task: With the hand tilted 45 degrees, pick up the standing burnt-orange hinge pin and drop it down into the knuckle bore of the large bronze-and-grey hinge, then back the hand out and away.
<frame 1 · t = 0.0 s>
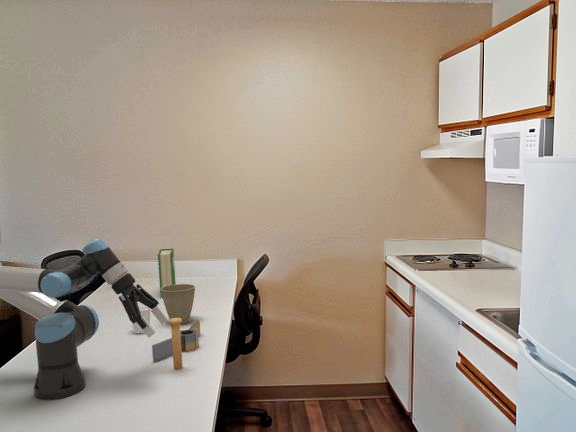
hand: (159, 328, 181), 15 cm above the table, tool tilted 35°, fingers open, 13 cm apart
hinge pin: (178, 367, 186), on the table
hinge leaf b: (188, 347, 206), on the table
white cup: (141, 332, 229), on the table
hinge leaf a: (188, 347, 206), on the table
plant pot: (180, 322, 241), on the table
hardback book: (168, 294, 296), on the table
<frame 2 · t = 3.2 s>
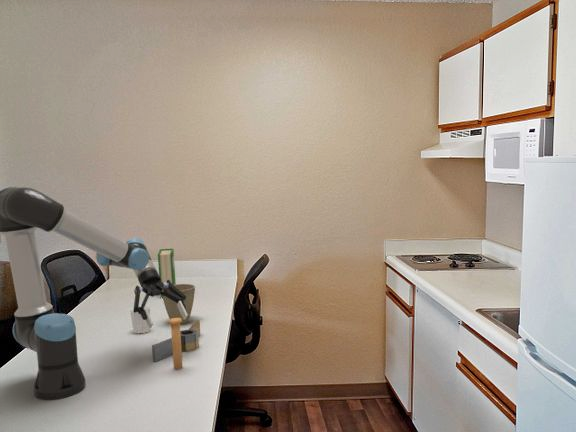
hand: (169, 321, 192), 14 cm above the table, tool tilted 45°, fingers open, 13 cm apart
nothing on the table moved.
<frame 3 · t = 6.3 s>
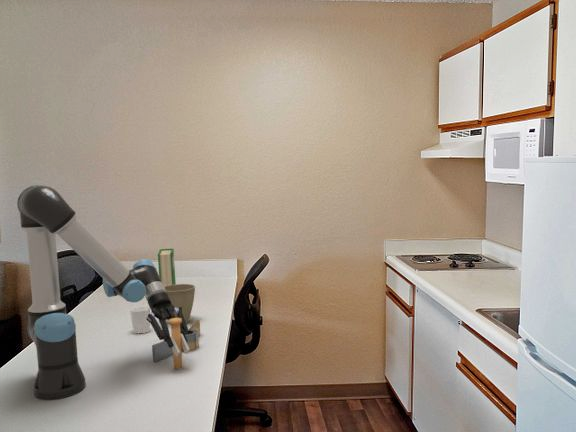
hand: (182, 352, 183), 6 cm above the table, tool tilted 45°, fingers closed on hinge pin, 3 cm apart
hinge pin: (178, 367, 186), on the table, touching gripper
everything else where it was.
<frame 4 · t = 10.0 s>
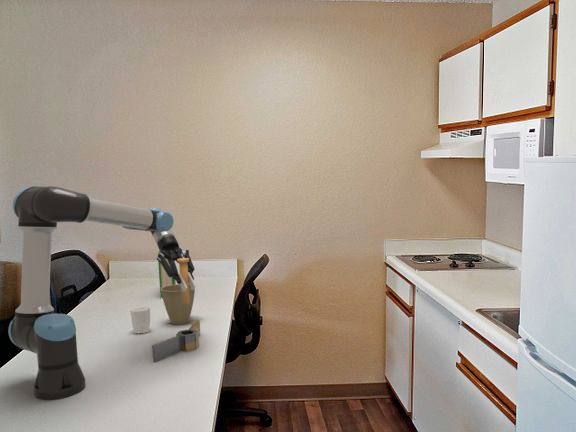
hand: (189, 288, 201), 24 cm above the table, tool tilted 45°, fingers closed on hinge pin, 3 cm apart
hinge pin: (185, 303, 205), point 18 cm above the table, touching gripper
everything else where it was.
when the fingers open (8 cm above the table, at t = 13.8 s): hinge pin drops 1 cm, resting in hinge leaf a.
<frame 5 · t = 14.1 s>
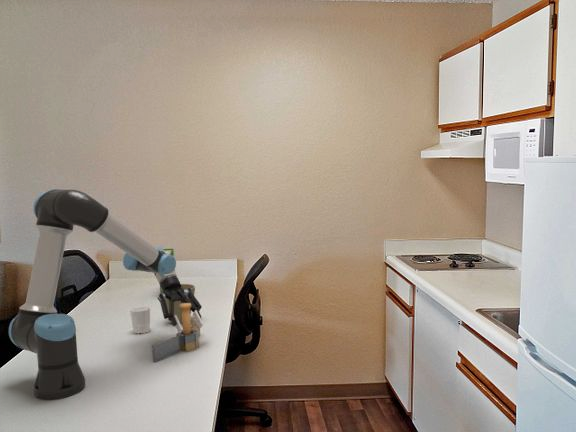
hand: (191, 328, 203), 8 cm above the table, tool tilted 45°, fingers open, 8 cm apart
hinge pin: (188, 347, 206), resting in hinge leaf a
everything else where it was.
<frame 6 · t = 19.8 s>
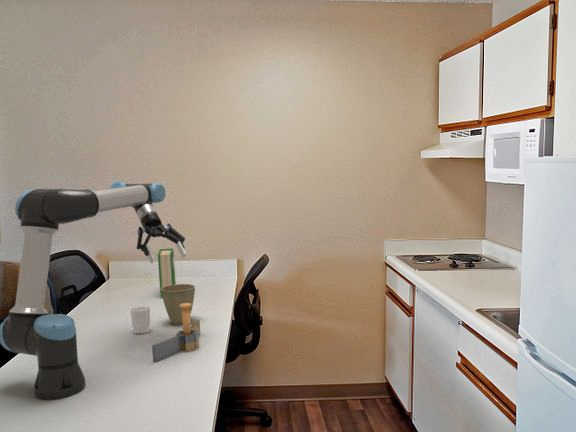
hand: (169, 258, 210), 34 cm above the table, tool tilted 45°, fingers open, 13 cm apart
nothing on the table moved.
at the end: hinge pin 0.0 cm off-centre on the hinge leaf a, point 0.0 cm above the hinge leaf a's base; hinge pin tilted 0°; the gripper is holding nothing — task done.
